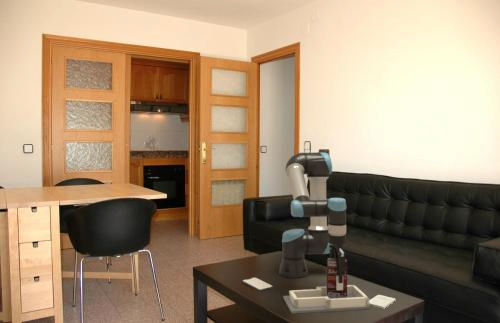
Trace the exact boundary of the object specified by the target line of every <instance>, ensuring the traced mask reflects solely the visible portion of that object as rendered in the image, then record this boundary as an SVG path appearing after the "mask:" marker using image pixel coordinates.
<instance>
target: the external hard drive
mask: <svg viewBox="0 0 500 323" xmlns="http://www.w3.org/2000/svg"><path fill="white" fill-rule="evenodd" d="M396 299H397V298H395V297H389V296H388V295H387V296H386V295H381V294H377V295H376V296H374V297H373V298H371V299H370V298H369V307H372V306H373V307H372V308H376V307H377V309H380V308H381V310H383V309H384V310H386V309H387V308H388V307H390V306H391V305H392V304H394V303H395V302H396V301H397V300H396ZM394 301H395V302H394ZM393 302H394V303H393ZM390 304H391V305H390ZM389 305H390V306H389ZM386 307H387V308H386ZM385 308H386V309H385Z"/></svg>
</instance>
